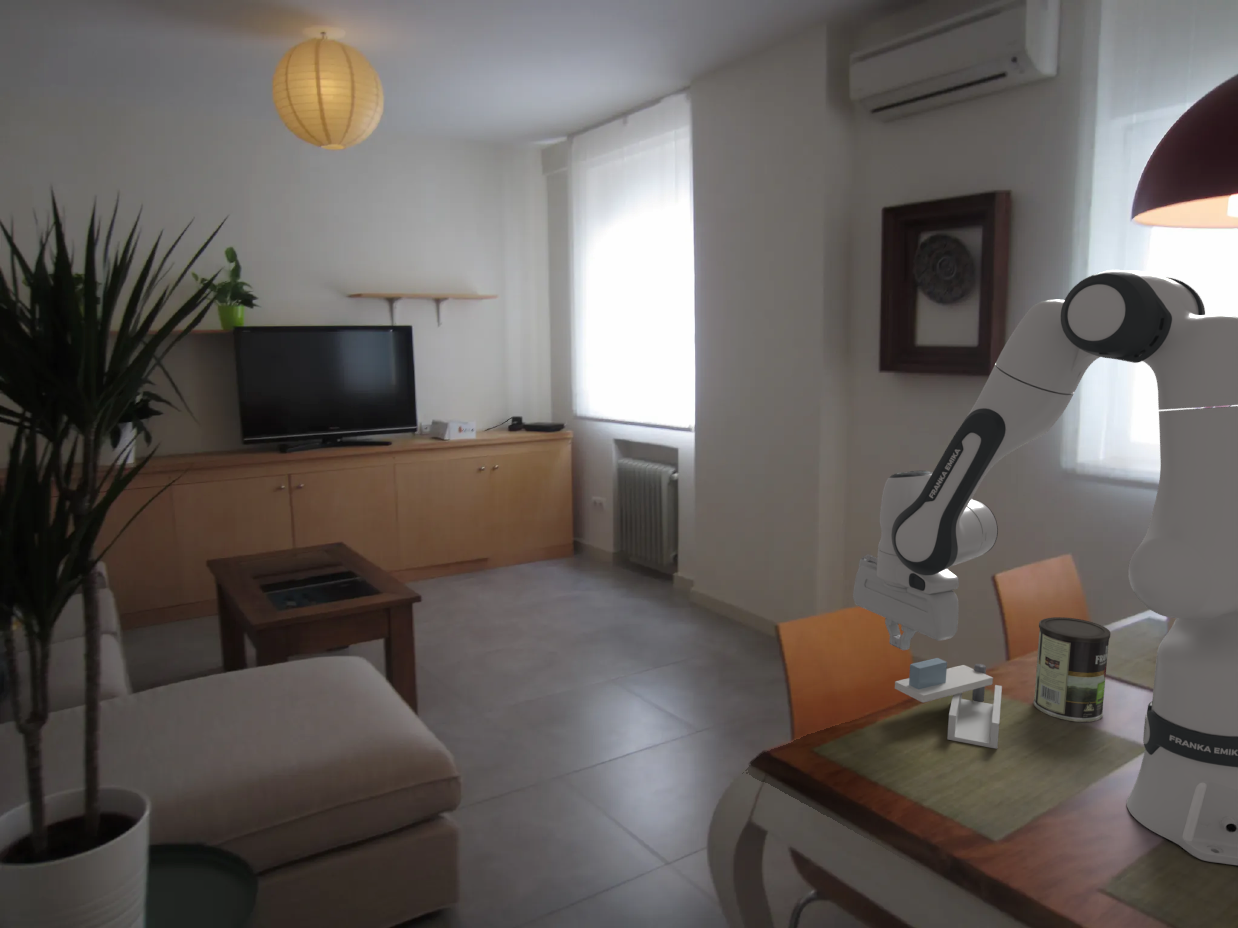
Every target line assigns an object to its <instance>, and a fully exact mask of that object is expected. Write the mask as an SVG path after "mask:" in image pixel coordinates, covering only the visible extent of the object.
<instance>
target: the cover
mask: <svg viewBox="0 0 1238 928" xmlns="http://www.w3.org/2000/svg"><path fill="white" fill-rule="evenodd" d="M973 666H974V667H970V666H968V665H965V664H962V665H958V666H952V667H949V668H948V662H947V661H946V660H945V659H941V658H939V657H935V658H932V659H927V660H923V661H919V662H918V661H917V662H913V663H911V664H910V665H909V677H908V678H904V679H900V680H896V681H894V689H895V690H897V691H899V692H901V693H903V694H905V695H907V696H909V697H911V698H912V699H915V700H917V701H918V702H921V703H927V702H931V701H934V700H938V699H939V700H940V699H942V698H946V697H950V696H953V695H954V694H958V693H962V694H963V693H965V692H968V691H972V694H971V695H972V697H971V701H977V702H983V703H984V701H985V691H986V690H985V689H986V687H988V686H991V685H993V683H994V680H993V679H994V677H992V676H990V675H988V674H987V673H986V671H987V666H986V665H985V664H983V663H975V664H974V665H973Z"/></svg>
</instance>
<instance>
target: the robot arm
mask: <svg viewBox="0 0 1238 928" xmlns="http://www.w3.org/2000/svg"><path fill="white" fill-rule="evenodd" d="M1100 358H1104V359H1105V358H1106V359H1110V360H1111V359H1113V360H1117V361H1123V362H1128V363H1133V364H1134V363H1135V364H1138V363H1141V362H1143V363H1145V364H1147V365H1148V366H1149V368H1150V369H1151V370H1152V372H1153V374H1154V376H1155V379H1156V383H1157V385H1156V387H1157V398H1158V399H1157V401H1158V402H1157V404H1158V410H1159V411H1158V425H1159V428H1158V429H1159V451H1160V453H1159V454H1160V455H1159V456H1160V458H1159V460H1160V468H1159V469H1160V470H1159V472H1160V473H1159V482H1158V487H1157V492H1156V498H1155V501H1154V504H1153V505H1154V506H1153V509H1152V512H1151V513H1152V514H1151V517H1150V521H1149V524H1148V527H1147V530H1146V533H1145V536H1144V537H1143V539H1142V541H1141V543H1139V545H1138V546H1137V548H1136V549H1135V550H1134V552H1133V553H1132V555H1131V557H1130V560H1129V562H1128V564H1129V565H1128V572H1127V573H1128V580H1129V584H1130V587H1131V589H1132V591H1133V593H1134V595H1135V596H1136V597H1137V599H1138V600H1139V601H1140V602H1141V604H1143V605H1144V606H1145V607H1146V608H1147V609H1148V610H1150V611H1151V612H1153V613H1155V614H1157V615H1160V616H1163V617H1166V618H1171V619H1175V620H1174V621H1173V624H1172V626H1171V628H1170V629H1169V631H1168V632H1167V633H1166V635H1165V636H1164V637H1163V638H1162V640H1161V642H1160V643H1159V646H1158V647H1157V652H1156V661H1155V670H1154V681H1153V690H1152V700H1151V701H1150V702H1149V703H1148V705H1147V708H1146V709H1147V711H1146V714H1145V718H1144V726H1143V735H1142V736H1143V737H1142V741H1143V746H1144V751H1143V752H1144V753H1143V756H1142V760H1141V765H1140V769H1139V771H1138V774H1137V777H1136V780H1135V784H1134V785H1133V788H1132V790H1131V792H1130V794H1129V796H1128V797H1127V800H1126V806H1127V810H1128V811H1129V813H1130V814H1131V815H1132V817H1134V819H1135V820H1136V821H1137V822H1138V823H1140V824H1141V825H1142V826H1144V827H1145V828H1147V829H1149V830H1150V831H1151V832H1154V833H1155V834H1157V835H1159V836H1161V837H1162V838H1165V839H1167V840H1169V841H1171V842H1173V843H1174V844H1176V845H1178V846H1180V847H1181V848H1183V850H1185V852H1187V853H1189V854H1190V855H1191V856H1193V857H1195V858H1197V859H1199V860H1201V861H1204V862H1210V863H1218V864H1224V865H1225V864H1226V865H1232V866H1238V317H1237V316H1233V315H1229V314H1220V313H1216V314H1215V313H1212V314H1211V313H1210V314H1206V309H1205V304H1204V301H1203V300H1202V298H1201V296H1200V294H1198V292H1197V291H1196V290H1195V289H1194V288H1192V287H1191V286H1190V285H1189V284H1187V283H1185V282H1183V281H1181V280H1179V279H1176V278H1173V277H1168V276H1167V277H1166V276H1162V275H1159V274H1158V273H1154V272H1150V271H1142V270H1122V269H1109V270H1105V271H1104V270H1103V271H1101V272H1097V273H1094V274H1091V275H1090V276H1087V277H1086V278H1083V279H1082V280H1081V281H1079V282H1078V283H1076V284H1075V285H1074V286H1073V287H1072V289H1071V290H1069V292H1068V293H1067V294H1066V297H1065V299H1046V300H1041V301H1040V302H1037V303H1036V304H1033V305H1032V306H1031V307H1030V308H1029V309H1028V311H1026V313H1025V314H1024V316H1023V317H1022V318H1021V320H1020V321H1019V322H1018V324H1017V326H1016V327H1015V328H1014V330H1013V331H1012V333H1011V335H1010V336H1009V338H1008V340H1007V341H1006V343H1005V344H1004V346H1003V349H1002V350H1001V351H1000V354H999V355H998V357H997V360H996V362H995V364H994V366H993V368H992V370H991V372H990V374H989V376H988V377H987V378H988V379H987V380H986V382H985V384H984V386H983V388H982V389H981V392H980V393H979V395H978V397H977V399H976V401H975V403H974V404H973V406H972V408H971V410H970V411H969V412H968V414H967V415H966V417H965V418H964V420H963V421H962V423H961V425H960V426H959V428H958V430H957V431H956V432H955V434H954V435H953V437H952V439H951V441H950V442H949V444H947V445H948V446H947V447H946V448H945V451H944V452H943V454H942V456H941V458H940V459H939V461H938V462H937V465H936V466H935V468H934V469H933V471H929V470H911V471H902V472H897V473H894V474H891V476H889V477H888V478H887V479H886V481H885V483H884V487H883V489H882V495H881V502H880V508H879V509H880V510H879V526H880V530H881V532H880V533H881V535H880V539H879V542H878V545H877V557H876V556H874V555H872V554H865V556H862V557H861V558H860V559H859V562H858V570H857V572H856V574H855V579H854V586H853V592H852V599H853V601H854V604H855V605H856V606H857V607H860V608H862V609H865V610H866V611H870V612H872V613H874V614H876V615H878V616H880V617H883V618H885V619H884V623H885V626H886V629H887V633H888V635H889V642H888V643H889V644H890V645H891V646H893V647H896V648H897V649H899V650H902V651H907V650H909V649H910V648H911V639H913V637H914V635H915V634H916V633H919V634H921V635H924V636H926V637H929V638H931V639H933V640H935V641H945V640H948V639H952V638H953V637H954V636H955V635H956V634H957V631H958V628H959V627H958V624H959V599H958V595H957V594H956V592H955V591H954V590H957V589H958V588H959V584H960V583H959V582H960V580H959V579H960V578H959V577H958V576H957V575H956V574H954V573H953V572H952V571H950V570H949V568H950V567H953V566H956V565H959V564H962V563H965V562H968V561H971V560H973V559H976V558H978V557H981V556H983V555H985V554H986V553H988V552H989V551H991V550H992V549H993V547H994V546H995V544H996V542H997V539H998V533H999V528H998V526H999V525H998V523H997V521H998V520H997V519H996V516H995V514H994V512H993V511H992V510H991V509H990V507H988V505H986V504H985V503H984V502H982V501H981V500H977V499H974V498H973V497H974V495H975V494H976V492H977V490H978V489H979V487H980V485H981V483H982V481H983V480H984V478H985V477H986V475H987V474H988V473H989V471H990V470H991V469H992V468H993V466H995V465H996V464H997V463H998V462H999V461H1000V460H1002V459H1003V458H1004V457H1005V456H1008V455H1009V454H1011V453H1012V452H1014V451H1016V450H1018V449H1019V448H1021V447H1023V446H1025V445H1027V444H1028V443H1031V442H1033V441H1035V440H1037V439H1039V438H1041V437H1043V435H1045V434H1046V433H1048V432H1049V431H1050V429H1052V427H1053V426H1054V425H1055V424H1056V422H1057V421H1058V420H1059V419H1060V418H1061V416H1062V415H1063V413H1064V411H1065V410H1066V409H1067V407H1068V406H1069V403H1070V402H1071V400H1072V398H1073V396H1074V394H1075V392H1076V390H1077V388H1078V386H1079V384H1080V382H1081V380H1082V378H1083V376H1084V375H1085V373H1086V372H1087V370H1088V369H1089V367H1090V366H1091V365H1092V364H1093V363H1094V362H1095V361H1096V360H1098V359H1100ZM899 625H901V631H902V632H903V633H902V634H901V631H900V626H899Z"/></svg>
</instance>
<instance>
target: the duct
mask: <svg viewBox="0 0 1238 928" xmlns="http://www.w3.org/2000/svg"><path fill="white" fill-rule="evenodd" d="M1002 689H1003V685H997V684H995V685H994V697H993V703H988V702H984V701H983V702H977V701H974V700H972V699H970V700H969V699H964V698H963V697H962V696H963V692H962V693H958V694H954V695H952V698H951V702H950V703H951V704H950V708H949V713H948V723H947V724H948V725H947V740H950V741H953V742H959V743H964V744H970V745H975V746H981V747H986V748H991V749H994V750H995V749H997V750H998V747H999V746H998V745H999V744H998V743H999V731H1000V730H999V729H1000V717H1001V705H1002V704H1001V703H1002V702H1001V701H1002V693H1003V692H1002Z"/></svg>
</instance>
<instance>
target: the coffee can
mask: <svg viewBox="0 0 1238 928" xmlns="http://www.w3.org/2000/svg"><path fill="white" fill-rule="evenodd" d="M1038 628H1039V632H1038V634H1039V635H1038V643H1037V644H1038V645H1037V657H1036V658H1037V659H1036V672H1035V674H1036V675H1035V684H1034V685H1035V687H1034V697H1033V706H1034V707H1035V708H1036V709H1037V710H1039V711H1040V712H1042V713H1043V714H1046V715H1048V716H1050V717H1053V718H1055V719H1059V720H1065V721H1070V722H1074V723H1092V722H1095V721H1099V720H1101V718H1103V716H1104V714H1103V709H1104V698H1105V687H1106V676H1107V664H1108V656H1109V655H1108V654H1109V646H1110V645H1109V643H1110V638H1111V631H1110V629H1108V628H1107V627H1105V626H1103V625H1101V624H1099V623H1096V622H1093V621H1091V620H1084V619H1080V618H1074V617H1073V618H1072V617H1047V618H1043V619H1041V620H1040V621H1039V622H1038Z"/></svg>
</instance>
